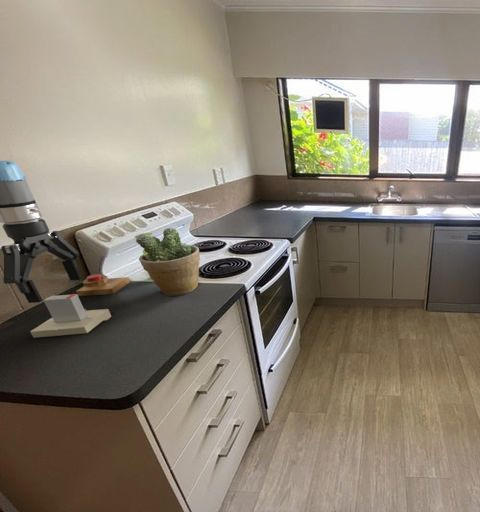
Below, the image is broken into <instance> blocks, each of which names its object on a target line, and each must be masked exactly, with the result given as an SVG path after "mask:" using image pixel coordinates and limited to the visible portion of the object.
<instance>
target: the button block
mask: <svg viewBox="0 0 480 512" xmlns="http://www.w3.org/2000/svg"><path fill="white" fill-rule="evenodd" d="M101 277H102V279H100V280H98V281H93V282H88V280H87V278H85V279H84V280H83V281H82V285H83V286H82V287H80V288H79V289H77V290H76V291H75V292H76V293H75V294H77V295H78V297H85V296H99V295H100V296H101V295H113V294H115V293H117V292H118V291H120V290H121V289H123V288H124V287H125V286H127V285H128V284H130V283H131V280H130V277H129V276H127V277H110V278H109V277H108V276H107V275H105V274H103V275H102V274H101Z"/></svg>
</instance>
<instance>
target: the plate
mask: <svg viewBox="0 0 480 512" xmlns="http://www.w3.org/2000/svg"><path fill="white" fill-rule="evenodd" d="M84 310H85V312H86V314H87V317H85V318H84V319H83V320H81V321H70V322H58V323H55V322H54V320H53V318H52V317H50V318H49V319H47V320H46V321H45V322H43V323H41V324H39V325H38V326H37V327H35V328H33V329H32V330H30V331H29V332H30V334H31V336H32V338H33V339H36V338H45V337H57V336H58V337H59V336H71V335H80V334H88V333H89V332H91V331H92V330H93V329H94V328H96V327H97V326H98V325H100V323H102V322H103V321H108V320H110V318H111V317H112V315H111V312H110V310H109V309H108V308H105V309H104V308H103V309H91V310H90V309H89V310H87V309H86V308H84Z"/></svg>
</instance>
